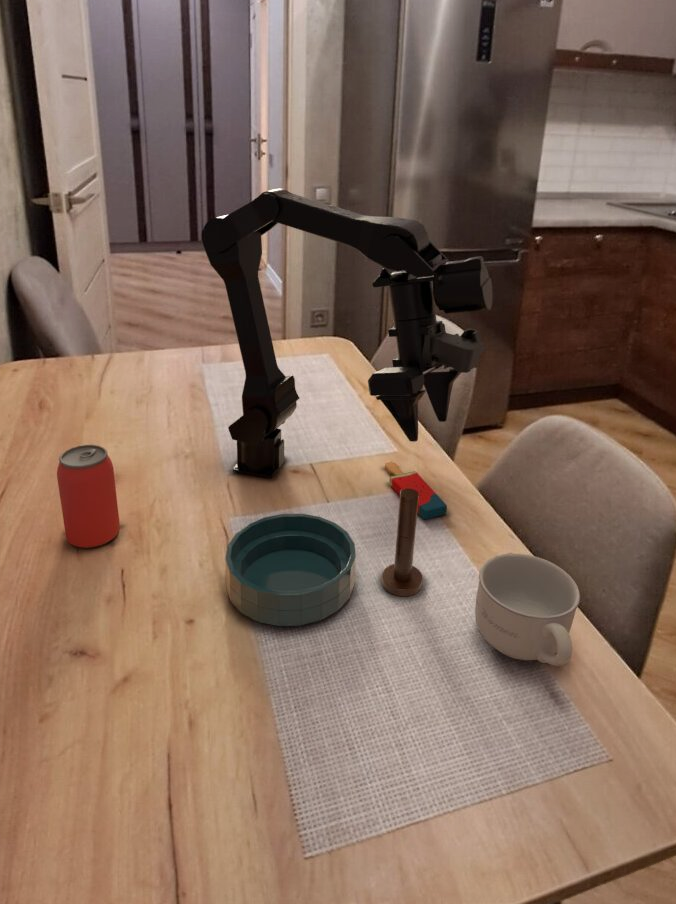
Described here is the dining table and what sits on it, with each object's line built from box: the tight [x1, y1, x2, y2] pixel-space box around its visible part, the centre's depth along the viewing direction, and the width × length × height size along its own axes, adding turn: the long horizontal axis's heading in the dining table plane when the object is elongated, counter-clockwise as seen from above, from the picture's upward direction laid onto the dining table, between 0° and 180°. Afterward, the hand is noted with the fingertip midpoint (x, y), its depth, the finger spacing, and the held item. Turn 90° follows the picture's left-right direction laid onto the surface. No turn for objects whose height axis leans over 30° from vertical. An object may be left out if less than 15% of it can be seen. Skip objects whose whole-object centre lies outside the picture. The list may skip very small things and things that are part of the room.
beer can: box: [56, 444, 121, 549], centre depth 85 cm, size 7×7×12 cm
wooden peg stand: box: [381, 488, 423, 597], centre depth 80 cm, size 5×5×13 cm
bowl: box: [224, 513, 357, 627], centre depth 80 cm, size 15×15×5 cm
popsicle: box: [384, 461, 448, 520], centre depth 102 cm, size 5×2×15 cm
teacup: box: [474, 552, 581, 667], centre depth 72 cm, size 14×11×8 cm
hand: (428, 430), depth 91 cm, fingers open, 9 cm apart
